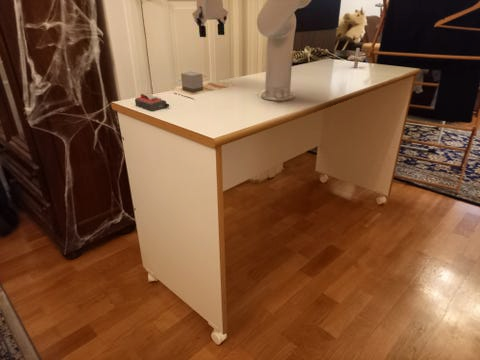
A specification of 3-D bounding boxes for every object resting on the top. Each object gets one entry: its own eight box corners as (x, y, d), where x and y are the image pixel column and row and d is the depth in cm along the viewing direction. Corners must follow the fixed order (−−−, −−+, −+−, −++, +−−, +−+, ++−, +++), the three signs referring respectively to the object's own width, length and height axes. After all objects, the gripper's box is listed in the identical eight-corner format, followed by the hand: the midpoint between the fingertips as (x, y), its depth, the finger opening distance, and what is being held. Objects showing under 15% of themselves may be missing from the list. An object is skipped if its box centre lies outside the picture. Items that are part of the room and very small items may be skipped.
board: (215, 85, 155) (215, 81, 154) (234, 89, 147) (234, 85, 147) (174, 93, 142) (173, 89, 141) (192, 98, 134) (191, 94, 133)
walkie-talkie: (175, 108, 124) (145, 98, 137) (173, 95, 122) (143, 86, 135) (153, 113, 119) (124, 102, 132) (151, 100, 117) (122, 90, 129)
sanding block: (192, 87, 144) (191, 71, 141) (203, 90, 139) (202, 73, 136) (182, 89, 141) (181, 73, 138) (193, 92, 136) (191, 75, 133)
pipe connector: (342, 67, 192) (344, 47, 188) (358, 65, 195) (360, 46, 190) (352, 70, 184) (355, 49, 179) (369, 68, 186) (372, 49, 182)
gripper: (219, -14, 137) (221, 33, 145) (184, -14, 126) (189, 37, 134) (232, -15, 133) (234, 34, 140) (197, -15, 122) (201, 38, 129)
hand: (212, 35), depth 137 cm, fingers open, 9 cm apart
